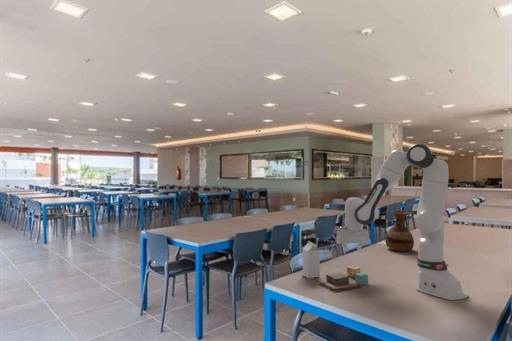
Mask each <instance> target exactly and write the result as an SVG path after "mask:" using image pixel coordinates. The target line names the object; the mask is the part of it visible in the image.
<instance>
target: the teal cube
mask: <svg viewBox="0 0 512 341" xmlns="http://www.w3.org/2000/svg"><path fill="white" fill-rule="evenodd" d="M354 279H355V280H354V282H356V283H359V284H361V286H363V284H364V285H368V284H369V275H368V274H365V273H363V272H360V273H358V274H355V278H354Z"/></svg>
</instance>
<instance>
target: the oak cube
mask: <svg viewBox="0 0 512 341" xmlns="http://www.w3.org/2000/svg"><path fill="white" fill-rule="evenodd" d="M358 273H361V267H358V266H356V265H351V266H350V265H349V266H346V276H347V275H348V277H349V276H351V277H350V278H352V277H353V278H352V279H355V278H354V277H355V274H358Z"/></svg>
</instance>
